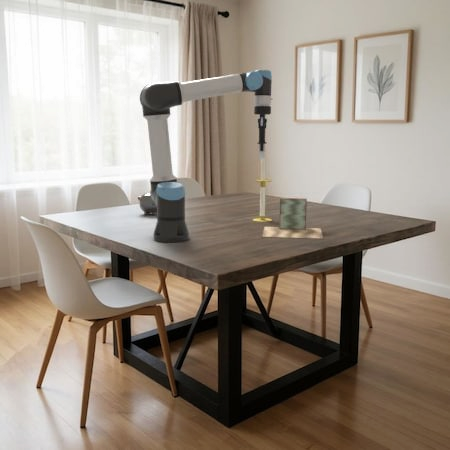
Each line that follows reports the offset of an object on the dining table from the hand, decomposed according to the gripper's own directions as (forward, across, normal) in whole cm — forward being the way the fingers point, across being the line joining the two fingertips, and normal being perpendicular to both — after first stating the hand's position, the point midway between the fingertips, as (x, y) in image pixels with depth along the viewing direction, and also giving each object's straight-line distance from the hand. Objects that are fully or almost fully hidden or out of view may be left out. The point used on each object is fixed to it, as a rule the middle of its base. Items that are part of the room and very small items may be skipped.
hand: (261, 158), depth 249 cm
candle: (+33, +18, 0) cm, 37 cm away
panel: (+32, -3, -15) cm, 35 cm away
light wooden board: (+32, -11, -15) cm, 37 cm away
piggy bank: (+33, +27, +59) cm, 73 cm away
